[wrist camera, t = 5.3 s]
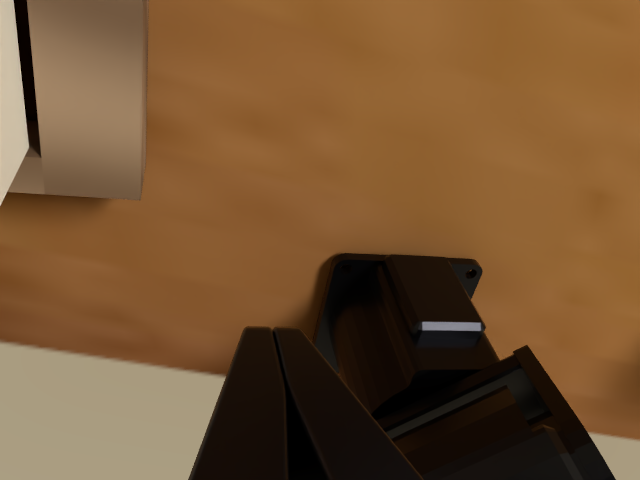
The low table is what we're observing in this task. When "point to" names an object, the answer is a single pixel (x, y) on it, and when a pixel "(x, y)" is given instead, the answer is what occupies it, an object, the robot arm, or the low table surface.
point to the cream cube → (10, 100)
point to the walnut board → (87, 99)
